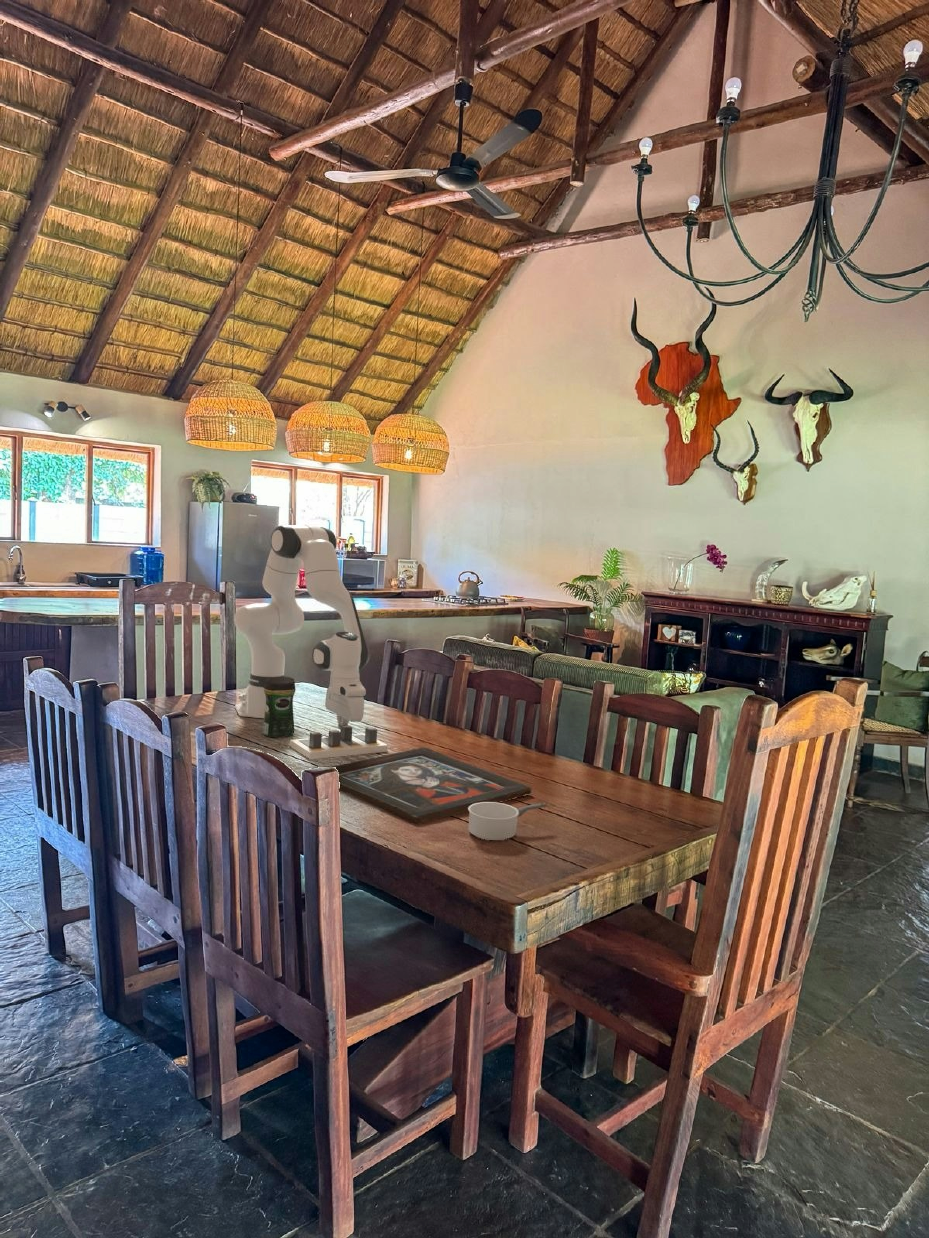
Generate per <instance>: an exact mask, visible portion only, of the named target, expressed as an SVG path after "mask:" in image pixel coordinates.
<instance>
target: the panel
mask: <svg viewBox="0 0 929 1238" xmlns="http://www.w3.org/2000/svg"><path fill="white" fill-rule="evenodd" d="M309 738H310V737H309ZM309 738H297V739H290V742H289V743H290V744H289V745H290V746H291V749H294V751H297V752H298V753H299V754H301V753H302V754H303V756H304V757H305V756H306V757H305V758H307V757H308V758H309V759H308V758H307V759H308V760H315V759H316V760H317V759H319V760H320V759H328V758H335V757H338V758H339V757H347V756H348V757H349V756H357V755H367V754H376V753H386V752H387V753H388V749H389V748H388V747H389V746H388V744H387V743H384V742H382V741H380V740H379V739H377V742H376V743H368V742H366V741H365V733H356V734H355V733H354V734H352V740H350V741H343V740H342V739H340V746H334V747H332V746H330V745H329V744H328V738H329V736H322V741H321V748H312V747H310V746H309ZM290 746H289V747H290ZM302 754H301V755H302Z"/></svg>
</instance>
